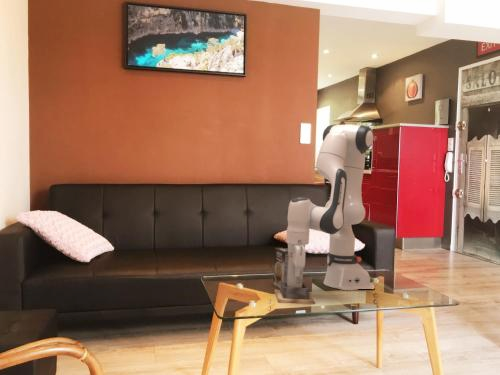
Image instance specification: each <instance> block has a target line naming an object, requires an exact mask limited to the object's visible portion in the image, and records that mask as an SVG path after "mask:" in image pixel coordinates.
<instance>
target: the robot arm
mask: <svg viewBox="0 0 500 375" xmlns="http://www.w3.org/2000/svg"><path fill="white" fill-rule="evenodd" d="M373 142H374V131H373V130H372V128H371V127H370V126H366V125H364V124H363V125H359V124H347V123H346V124H330V125H328V126H326V127H325V129H324V131H323V133H322V143H321V146H320V149H319V152H318V154H317V157H316V164H315V167H316V170H317V172H318V174H319V175H320V176H321V177H322V178H323V179H326V180H327V181H328V182H329V183H330V185H331V191H330V196H329V197H330V198H329V199H328V201H327V202H326V204H325V206H319V205H316V204H314V203H313V202H312V201H311V200H310V198H309V197H305V196H301V197H300V196H299V197H294V198H292V199H290V202H289V204H288V208H287V209H288V210H287V224H288V225H287V228H286V235H285V236H286V237H285V242H286V243H287V248H288V256H290V253H291V252H292V254H293V264H294V265H295V272H294V275H295V276H299V275H300V269H301V267H303V268H305V265H306V245H309V244H310V242H309V241H310V230H313V231H318V232H323V233H325V234H329V244H328V245H329V246H328V248H329V249H328V253H327V257H326V263H327V264H326V265H327V269H326V273H325V276H324V279H323V284H324V285H325V286H327V287H330V288H334V289H339V290H341V291H354V290H353V289H372V288H375V289H376V286H375V285H374V284H373V282H371V277H370V274H369V272H368V271H367V270H366V269H365V268H364V267H363V266H361V264H359V263H361V262H362V260H363V259H362V258H361V256H358V255H356V254H355V245H356V236H355V234H354V232H353V228H352V225H357V224H360V223H361V222H362V221H363V220H364V219H365V217H366V208H365V207H364V205H363V197H362V196H363V195H362V184H363V178H364V177H363V176H364V171H365V166H366V165H365V164H366V152H367V151H368V150H369V149H370V148H371V147H372V145H373ZM300 254H302V255H300ZM372 286H375V287H372Z"/></svg>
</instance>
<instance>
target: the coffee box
mask: <svg viewBox="0 0 500 375" xmlns="http://www.w3.org/2000/svg"><path fill="white" fill-rule="evenodd" d="M274 249H275V251H274V264H273V265H274V267H273V282H272V283H273V286H275V287H277V288H279V289H280V283H281V281H282V282H287V275H288V260H289V256H288V247H285V248H284V247H275V248H274Z"/></svg>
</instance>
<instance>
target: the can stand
mask: <svg viewBox="0 0 500 375" xmlns="http://www.w3.org/2000/svg"><path fill="white" fill-rule="evenodd" d="M274 295H275V297H276V300H277V303H282V304H307V305H315V304H316V300H315V299H314V297H313V296H312V294H311V293H310V288H309V286H308V285H307V283H306V282H304V281H303V282H302V288H289V287H287V282H282V281H281V283H280V288H279V289H274Z"/></svg>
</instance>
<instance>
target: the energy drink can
mask: <svg viewBox="0 0 500 375" xmlns="http://www.w3.org/2000/svg"><path fill="white" fill-rule="evenodd" d="M300 255H302V254H300ZM294 272H295V265H294V264H293V254H292V252H291V253H290V256H289V260H288V275H287V287H289V288H302V282H304V281H303V279H304V267H301V269H300V275H299V276H295V275H294Z"/></svg>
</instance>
